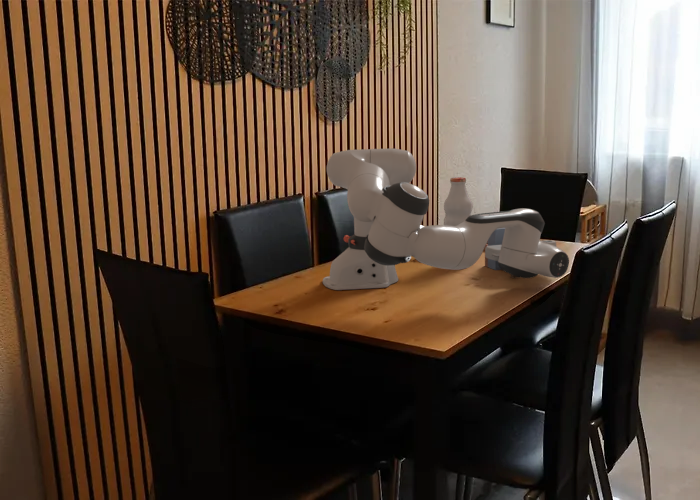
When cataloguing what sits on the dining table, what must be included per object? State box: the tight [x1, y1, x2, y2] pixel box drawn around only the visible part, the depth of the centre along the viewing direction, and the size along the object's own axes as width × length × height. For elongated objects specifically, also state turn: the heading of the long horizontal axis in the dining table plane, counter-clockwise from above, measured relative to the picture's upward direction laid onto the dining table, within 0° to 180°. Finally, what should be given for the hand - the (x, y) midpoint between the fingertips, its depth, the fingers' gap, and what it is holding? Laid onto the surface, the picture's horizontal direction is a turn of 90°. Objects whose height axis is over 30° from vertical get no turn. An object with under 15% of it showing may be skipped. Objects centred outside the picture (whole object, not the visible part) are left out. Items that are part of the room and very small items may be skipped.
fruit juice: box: [443, 176, 474, 226], centre depth 225 cm, size 9×9×28 cm
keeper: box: [487, 228, 505, 271], centre depth 219 cm, size 8×5×13 cm, turn 106°
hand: (506, 246), depth 217 cm, fingers closed, pressing on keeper
